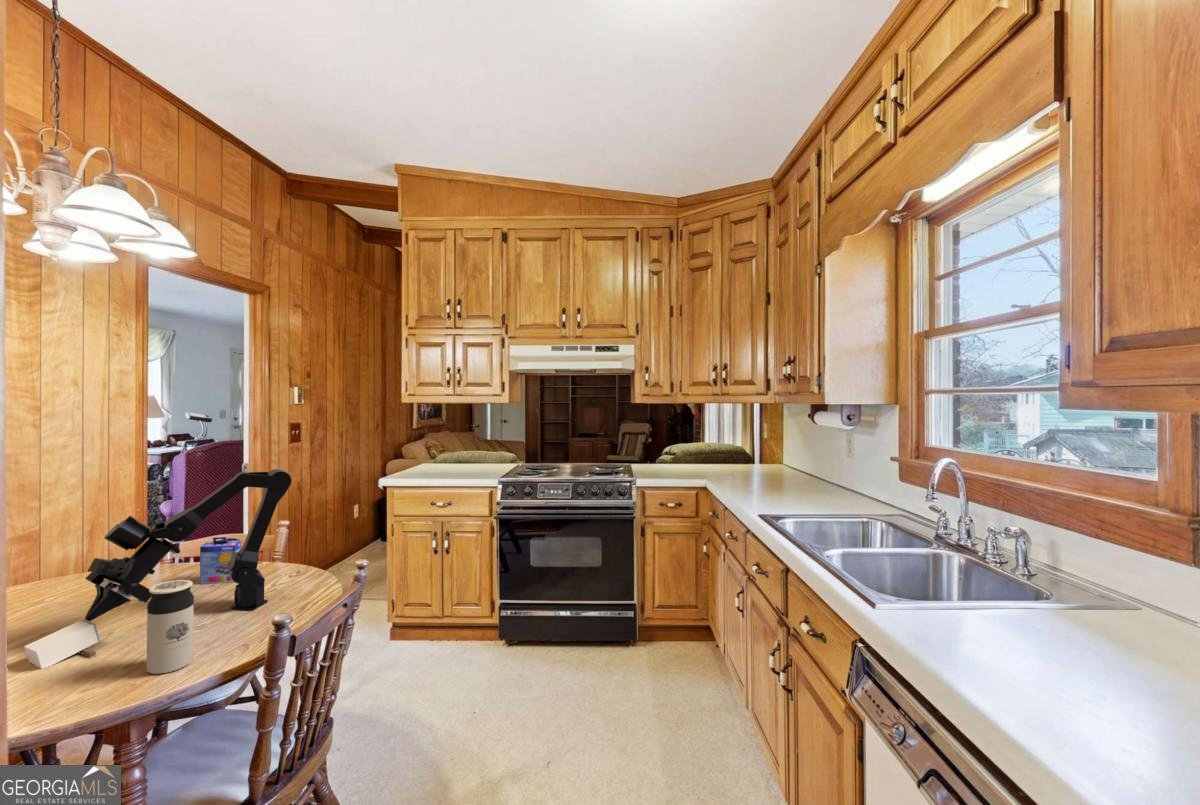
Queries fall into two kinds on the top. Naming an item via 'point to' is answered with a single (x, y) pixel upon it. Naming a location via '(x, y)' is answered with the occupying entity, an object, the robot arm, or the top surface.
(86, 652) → the strip
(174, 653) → the beige jar
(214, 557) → the ink cartridge box
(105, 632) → the top surface
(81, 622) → the plain white block
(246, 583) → the robot arm
